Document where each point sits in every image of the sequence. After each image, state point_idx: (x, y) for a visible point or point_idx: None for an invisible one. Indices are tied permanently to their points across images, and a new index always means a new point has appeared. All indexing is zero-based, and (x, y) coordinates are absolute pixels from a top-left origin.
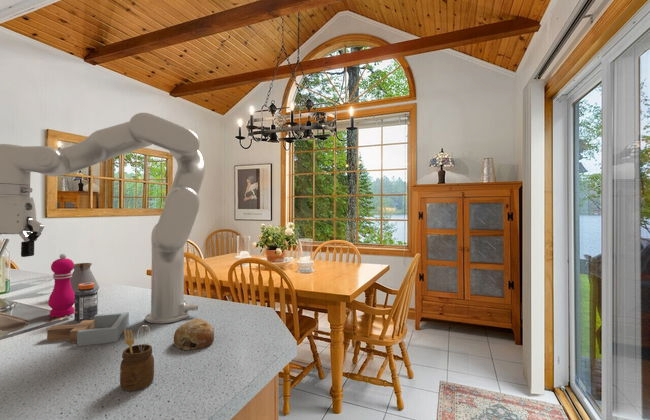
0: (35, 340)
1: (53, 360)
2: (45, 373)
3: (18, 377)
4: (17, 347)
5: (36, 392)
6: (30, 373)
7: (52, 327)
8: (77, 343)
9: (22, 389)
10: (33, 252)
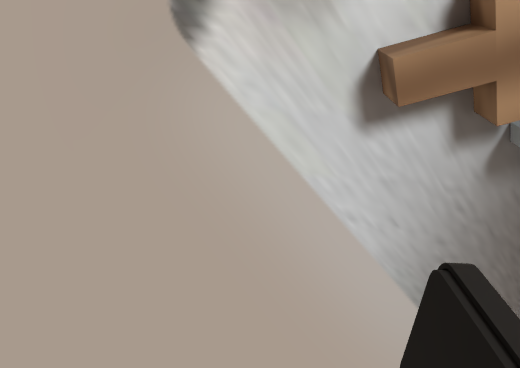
0: (333, 81)
1: (483, 234)
2: None
3: None
4: (314, 144)
5: None
6: None
7: (402, 75)
8: (516, 143)
9: None
10: (485, 291)
